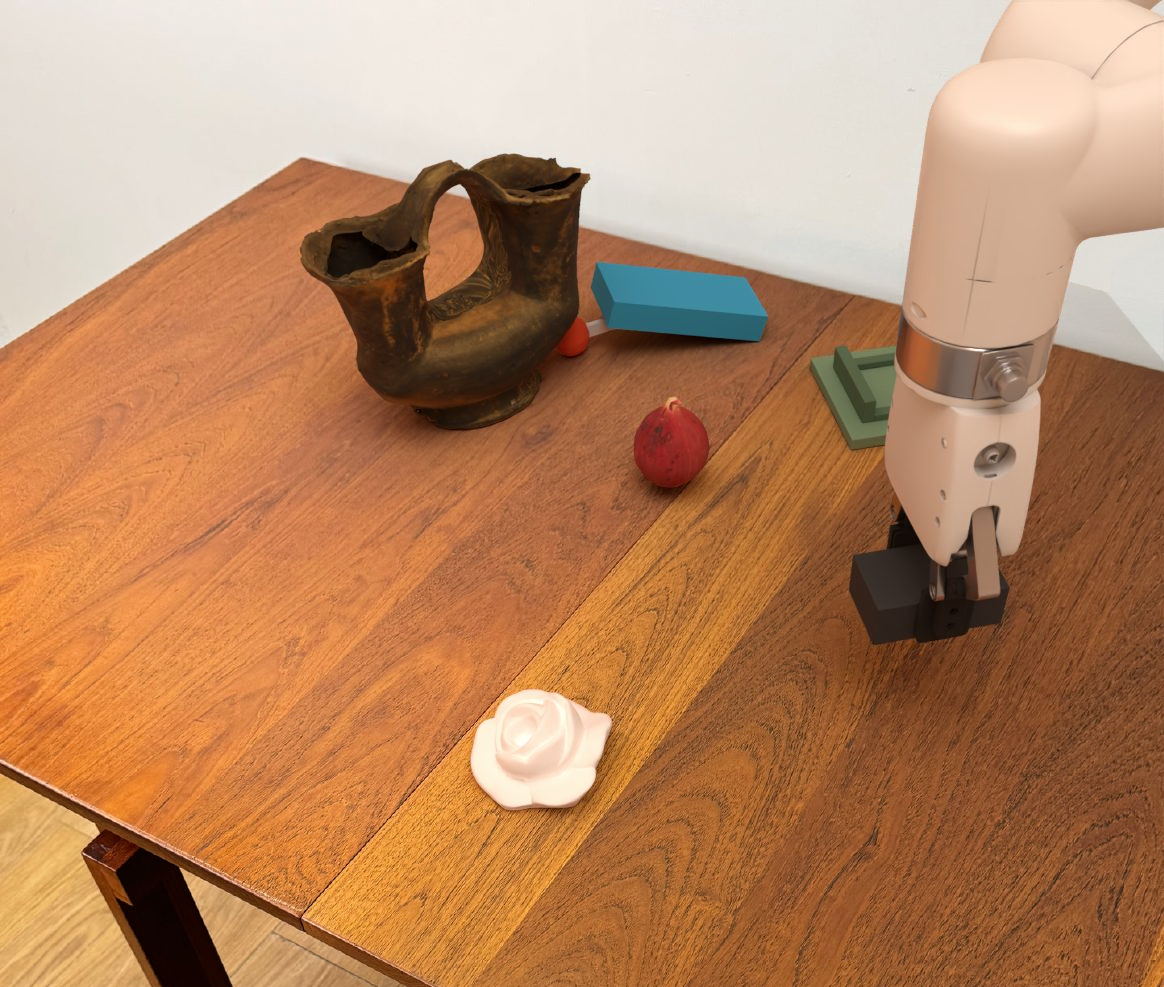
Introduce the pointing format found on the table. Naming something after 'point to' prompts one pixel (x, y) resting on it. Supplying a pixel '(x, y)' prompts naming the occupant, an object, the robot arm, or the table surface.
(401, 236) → the pottery vessel
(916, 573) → the black block
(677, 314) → the lever
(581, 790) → the rose
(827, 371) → the base pad
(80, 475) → the table surface
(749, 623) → the table surface
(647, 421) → the onion
